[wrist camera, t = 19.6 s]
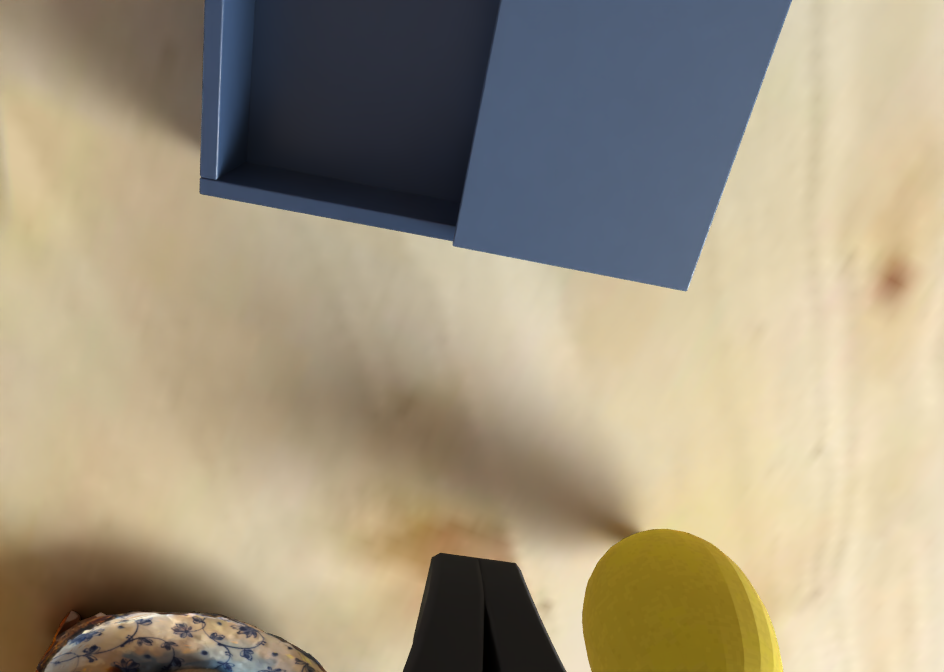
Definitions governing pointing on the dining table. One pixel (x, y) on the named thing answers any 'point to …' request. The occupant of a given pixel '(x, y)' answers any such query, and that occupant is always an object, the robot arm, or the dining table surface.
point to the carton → (344, 106)
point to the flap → (612, 131)
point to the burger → (169, 645)
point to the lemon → (674, 610)
